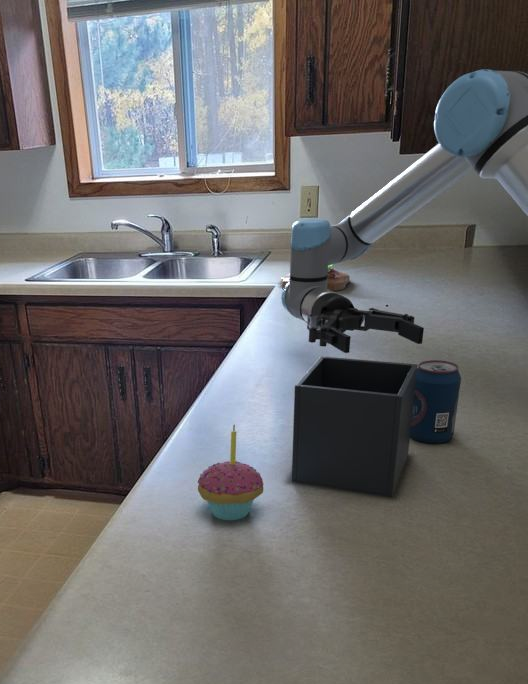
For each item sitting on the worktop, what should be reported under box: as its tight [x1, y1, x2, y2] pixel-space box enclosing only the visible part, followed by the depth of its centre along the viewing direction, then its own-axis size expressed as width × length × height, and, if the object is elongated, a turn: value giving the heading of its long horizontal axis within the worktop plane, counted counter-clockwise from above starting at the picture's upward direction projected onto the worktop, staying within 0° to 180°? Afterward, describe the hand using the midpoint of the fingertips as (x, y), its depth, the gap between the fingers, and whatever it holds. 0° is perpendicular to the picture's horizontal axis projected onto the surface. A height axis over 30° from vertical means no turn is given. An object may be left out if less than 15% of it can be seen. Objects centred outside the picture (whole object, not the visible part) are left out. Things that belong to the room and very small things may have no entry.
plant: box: [281, 264, 351, 292], centre depth 220 cm, size 20×20×11 cm
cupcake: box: [197, 424, 264, 521], centre depth 95 cm, size 9×8×12 cm
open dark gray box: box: [291, 356, 419, 498], centre depth 104 cm, size 14×14×15 cm
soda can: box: [410, 359, 462, 445], centre depth 114 cm, size 7×7×12 cm
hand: (385, 340), depth 124 cm, fingers open, 13 cm apart
